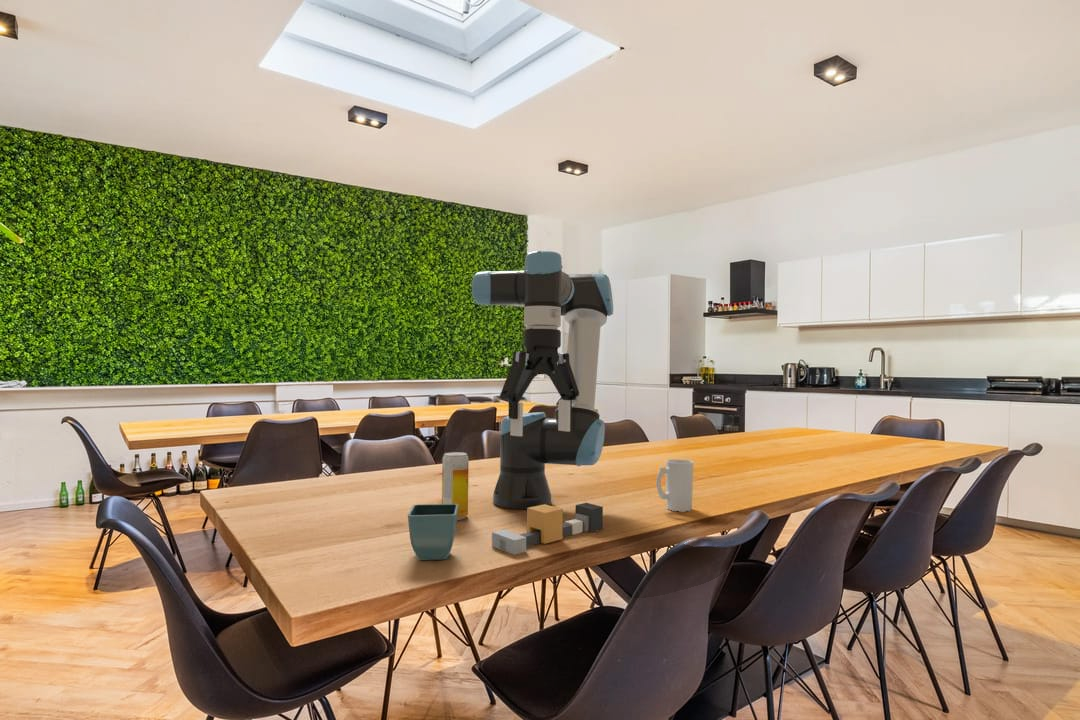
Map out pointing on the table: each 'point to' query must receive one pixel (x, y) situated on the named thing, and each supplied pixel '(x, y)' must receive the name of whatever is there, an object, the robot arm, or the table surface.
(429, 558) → the flower pot
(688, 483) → the mug
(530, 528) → the sleeve
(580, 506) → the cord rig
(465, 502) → the beer can
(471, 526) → the table surface
